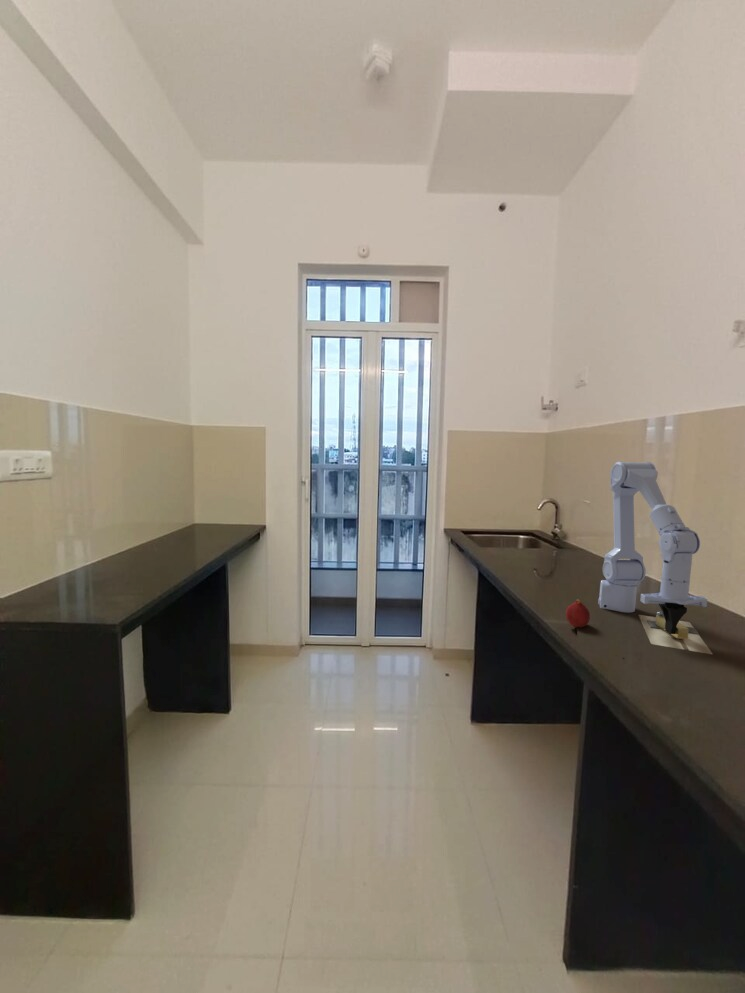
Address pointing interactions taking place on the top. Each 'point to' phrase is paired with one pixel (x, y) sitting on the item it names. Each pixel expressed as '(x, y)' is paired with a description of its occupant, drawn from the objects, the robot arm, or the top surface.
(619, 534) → the robot arm
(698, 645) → the door board
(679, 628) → the swing bar
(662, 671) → the top surface
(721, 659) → the top surface
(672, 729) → the top surface
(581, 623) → the onion
